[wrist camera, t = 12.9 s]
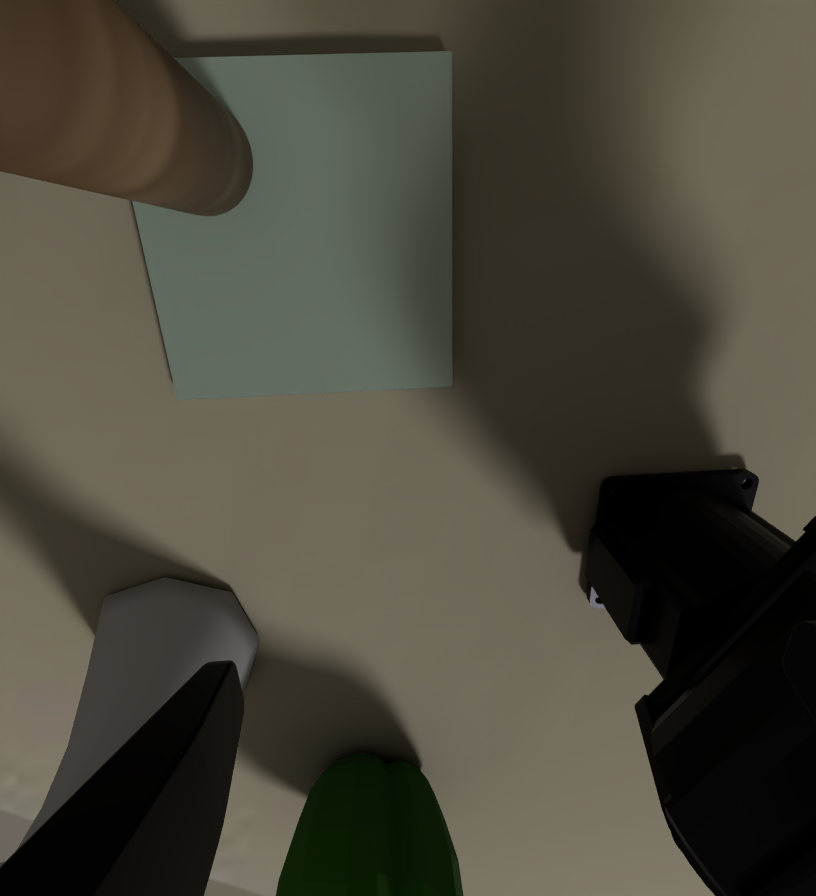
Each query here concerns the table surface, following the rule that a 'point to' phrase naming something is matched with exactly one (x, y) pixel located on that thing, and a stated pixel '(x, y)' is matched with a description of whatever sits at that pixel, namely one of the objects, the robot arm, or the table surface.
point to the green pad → (316, 232)
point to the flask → (145, 669)
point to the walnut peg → (112, 111)
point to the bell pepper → (371, 835)
